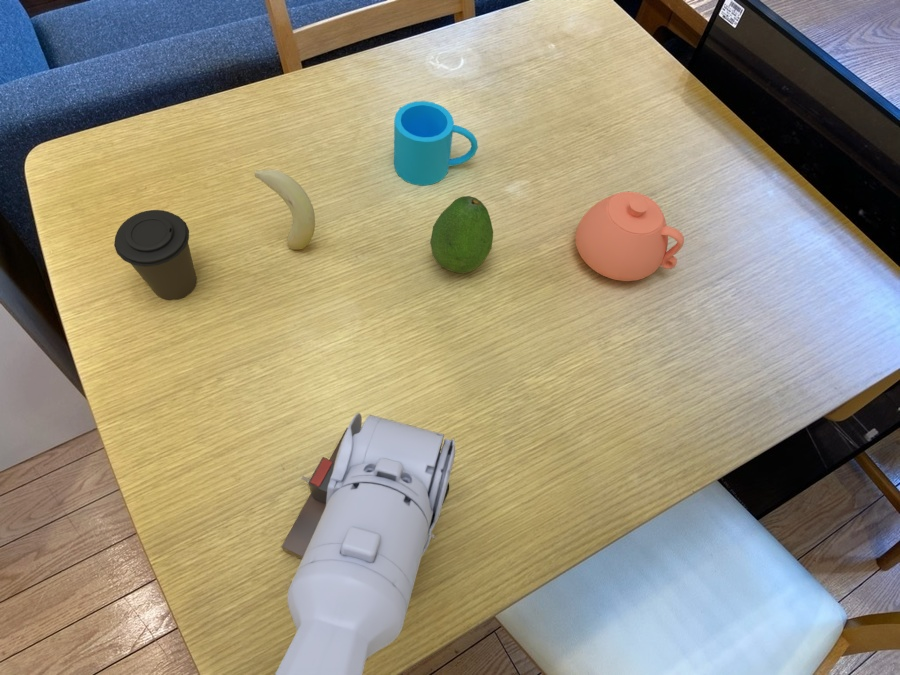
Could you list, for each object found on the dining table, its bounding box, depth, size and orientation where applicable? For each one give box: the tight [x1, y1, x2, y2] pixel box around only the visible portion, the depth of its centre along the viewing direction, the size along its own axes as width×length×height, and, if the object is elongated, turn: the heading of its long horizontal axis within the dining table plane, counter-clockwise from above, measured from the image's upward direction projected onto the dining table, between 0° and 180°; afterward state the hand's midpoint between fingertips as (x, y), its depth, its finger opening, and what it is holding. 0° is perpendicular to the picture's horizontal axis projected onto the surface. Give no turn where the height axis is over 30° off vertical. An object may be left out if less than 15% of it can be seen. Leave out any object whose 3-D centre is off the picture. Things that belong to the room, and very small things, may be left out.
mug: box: [393, 100, 479, 186], centre depth 90 cm, size 12×8×8 cm
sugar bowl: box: [574, 191, 685, 282], centre depth 83 cm, size 12×14×10 cm
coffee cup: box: [113, 209, 198, 301], centre depth 75 cm, size 8×8×10 cm
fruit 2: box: [429, 195, 494, 274], centre depth 79 cm, size 8×8×12 cm
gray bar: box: [307, 456, 335, 504], centre depth 62 cm, size 11×3×5 cm, turn 67°
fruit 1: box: [254, 169, 316, 250], centre depth 78 cm, size 6×12×3 cm
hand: (391, 553), depth 57 cm, fingers open, 7 cm apart
